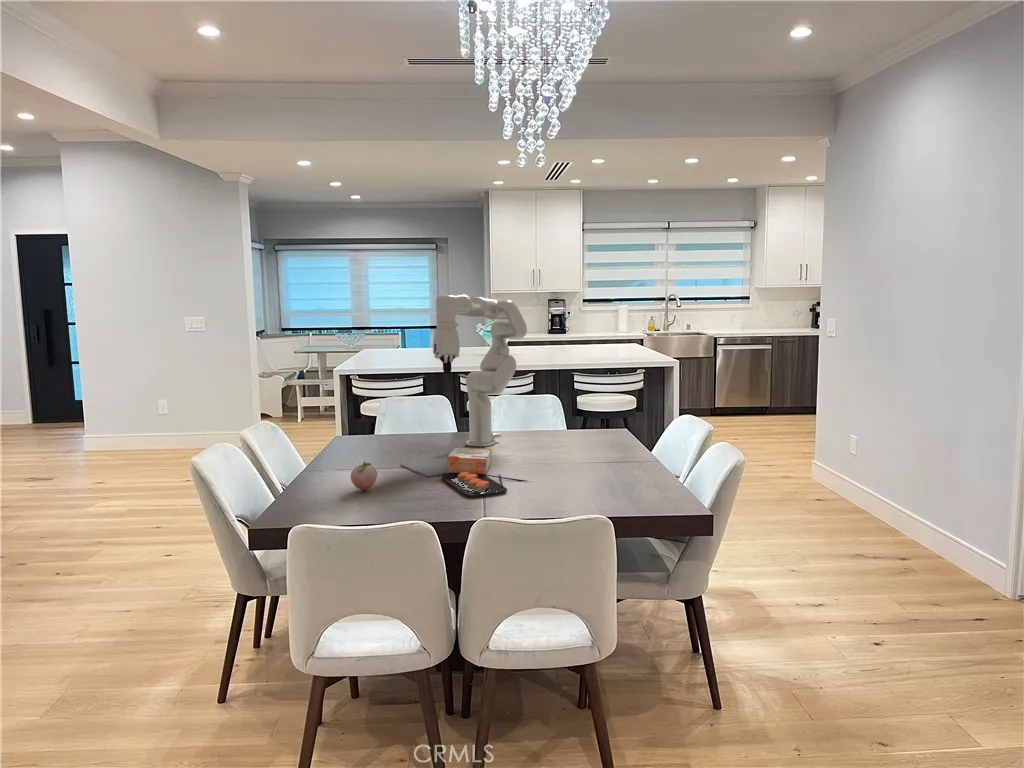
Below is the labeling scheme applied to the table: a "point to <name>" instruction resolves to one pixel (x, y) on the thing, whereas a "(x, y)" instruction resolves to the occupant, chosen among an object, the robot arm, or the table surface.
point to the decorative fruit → (364, 476)
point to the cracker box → (469, 460)
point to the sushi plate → (476, 483)
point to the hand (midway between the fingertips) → (447, 372)
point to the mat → (429, 466)
